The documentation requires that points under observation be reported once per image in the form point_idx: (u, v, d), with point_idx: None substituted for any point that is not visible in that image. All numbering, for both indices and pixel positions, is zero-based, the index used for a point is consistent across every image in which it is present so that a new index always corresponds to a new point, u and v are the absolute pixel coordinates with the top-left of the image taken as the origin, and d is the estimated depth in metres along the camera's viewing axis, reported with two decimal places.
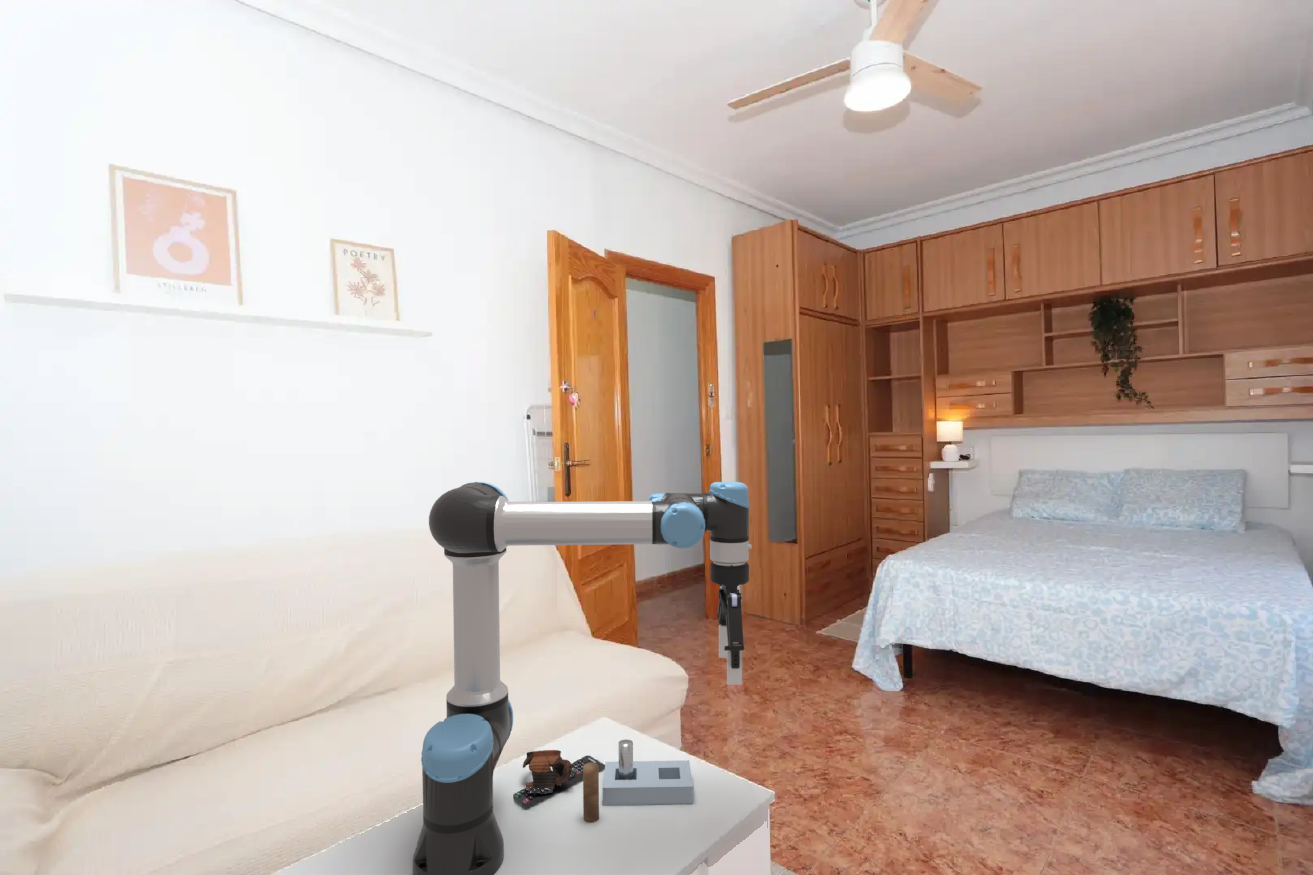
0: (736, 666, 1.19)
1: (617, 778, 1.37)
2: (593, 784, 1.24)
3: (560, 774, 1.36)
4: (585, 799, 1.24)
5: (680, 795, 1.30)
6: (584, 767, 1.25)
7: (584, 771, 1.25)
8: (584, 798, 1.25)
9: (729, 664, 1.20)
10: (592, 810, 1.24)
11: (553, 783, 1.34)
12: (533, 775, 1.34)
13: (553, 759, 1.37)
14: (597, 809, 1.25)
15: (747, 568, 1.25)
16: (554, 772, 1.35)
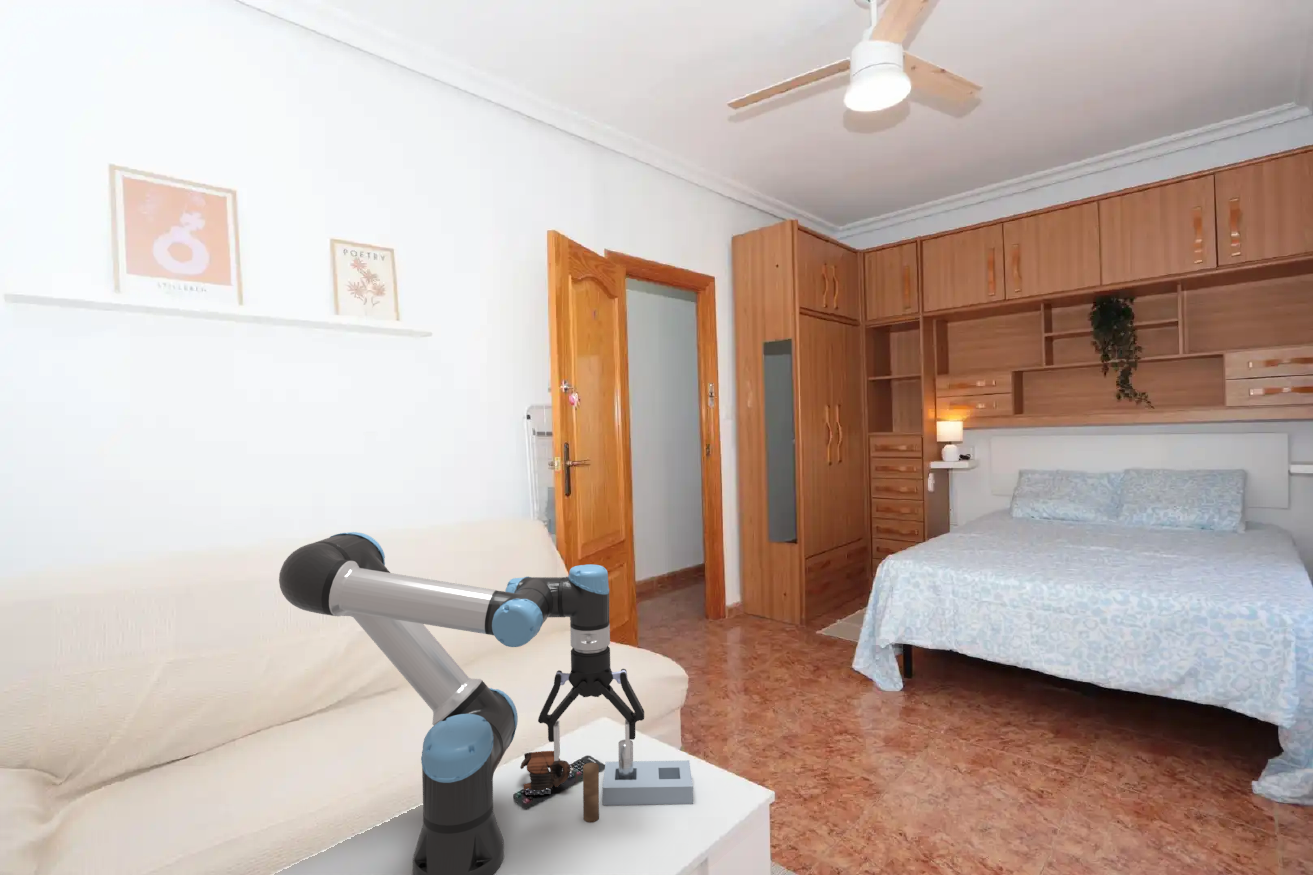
0: None
1: (617, 778, 1.37)
2: (593, 784, 1.24)
3: (558, 775, 1.35)
4: (585, 799, 1.24)
5: (680, 795, 1.30)
6: (584, 767, 1.25)
7: (584, 771, 1.25)
8: (584, 798, 1.25)
9: None
10: (592, 810, 1.24)
11: (551, 784, 1.34)
12: (531, 776, 1.34)
13: (551, 760, 1.36)
14: (597, 809, 1.25)
15: (578, 657, 1.22)
16: (552, 773, 1.35)
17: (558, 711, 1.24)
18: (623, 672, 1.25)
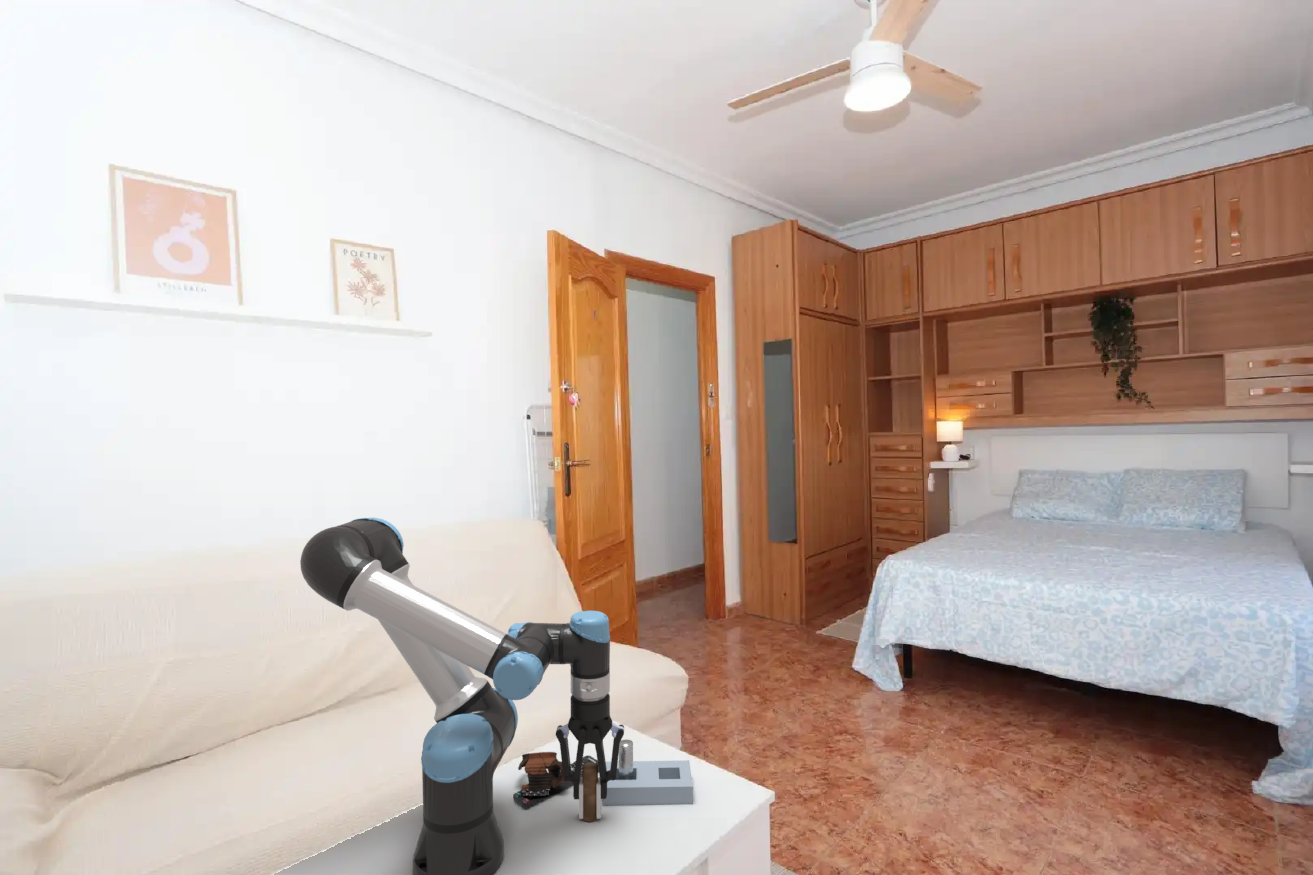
0: None
1: (617, 778, 1.37)
2: (592, 784, 1.24)
3: (556, 776, 1.35)
4: (584, 799, 1.24)
5: (680, 795, 1.30)
6: (583, 767, 1.25)
7: (583, 771, 1.25)
8: (583, 798, 1.25)
9: None
10: (591, 810, 1.24)
11: (549, 785, 1.33)
12: (529, 777, 1.33)
13: (549, 761, 1.36)
14: (595, 809, 1.25)
15: (578, 705, 1.22)
16: (550, 774, 1.34)
17: (576, 767, 1.24)
18: (622, 729, 1.25)
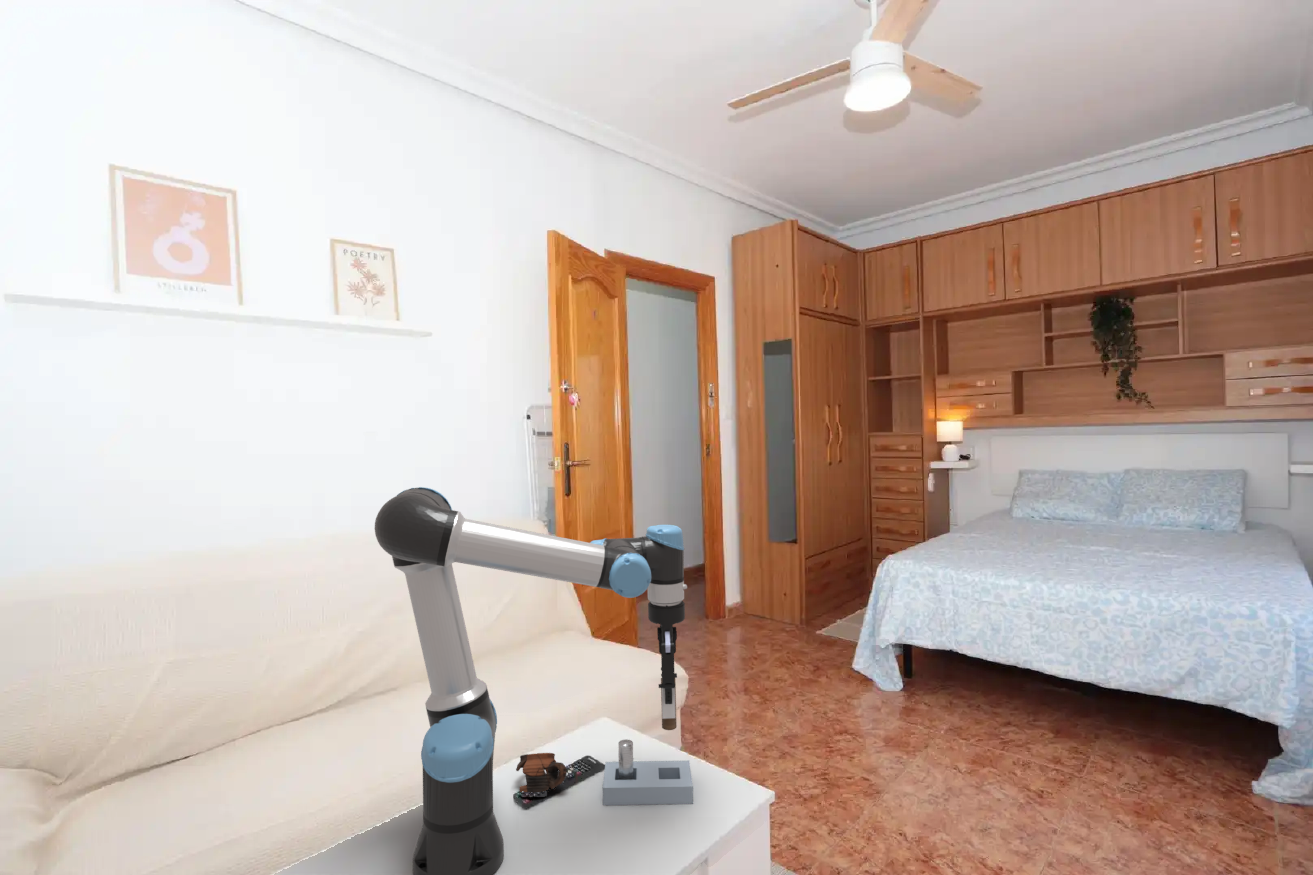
0: (669, 702, 1.31)
1: (617, 778, 1.37)
2: None
3: (554, 777, 1.35)
4: None
5: (680, 795, 1.30)
6: None
7: None
8: None
9: (663, 700, 1.32)
10: None
11: (547, 786, 1.33)
12: (527, 778, 1.33)
13: (547, 762, 1.35)
14: None
15: (682, 607, 1.32)
16: (548, 775, 1.34)
17: None
18: None
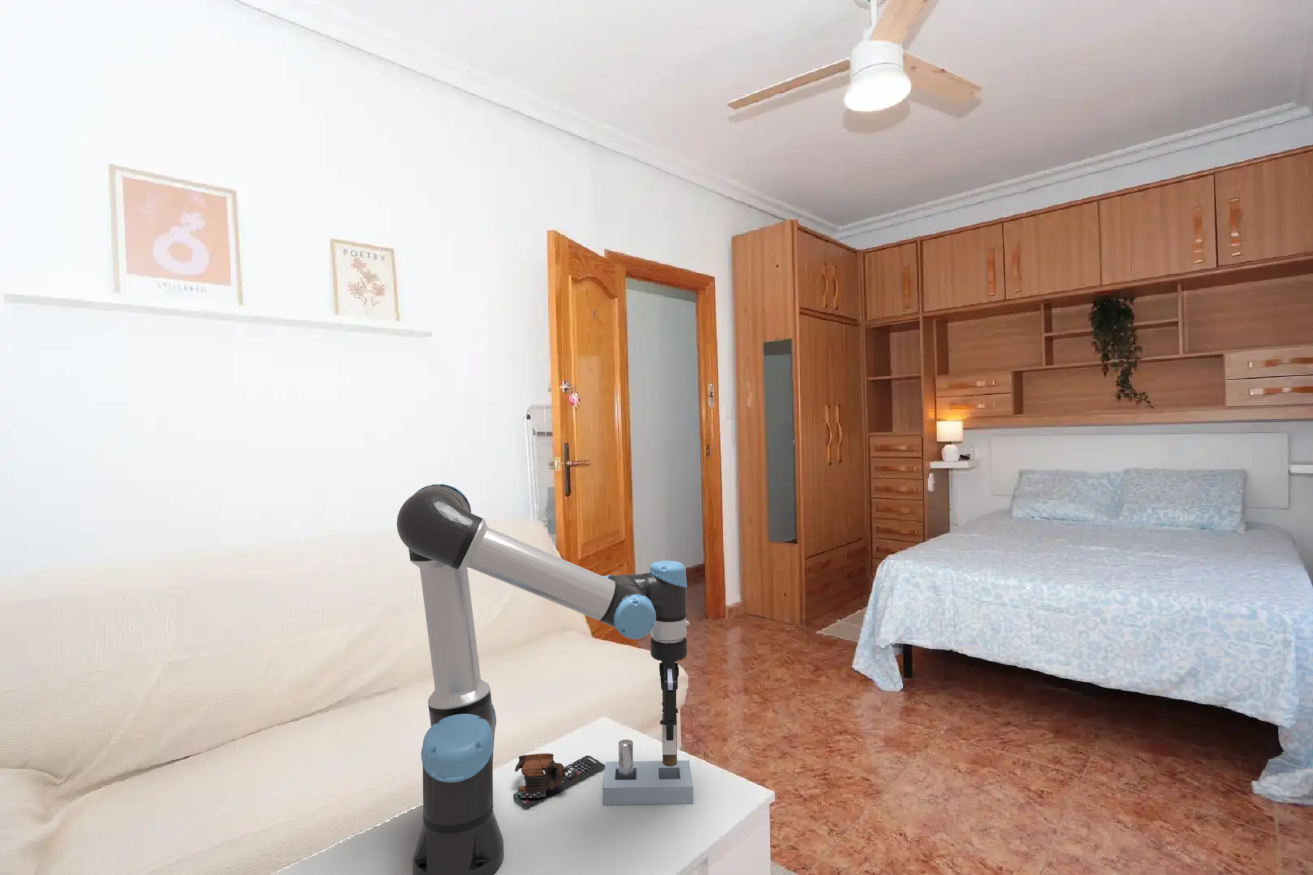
0: (670, 738, 1.32)
1: (617, 778, 1.37)
2: None
3: (553, 778, 1.34)
4: None
5: (680, 795, 1.30)
6: None
7: None
8: None
9: (664, 736, 1.33)
10: None
11: (546, 787, 1.33)
12: (526, 779, 1.32)
13: (546, 763, 1.35)
14: None
15: (684, 644, 1.32)
16: (547, 776, 1.34)
17: None
18: None
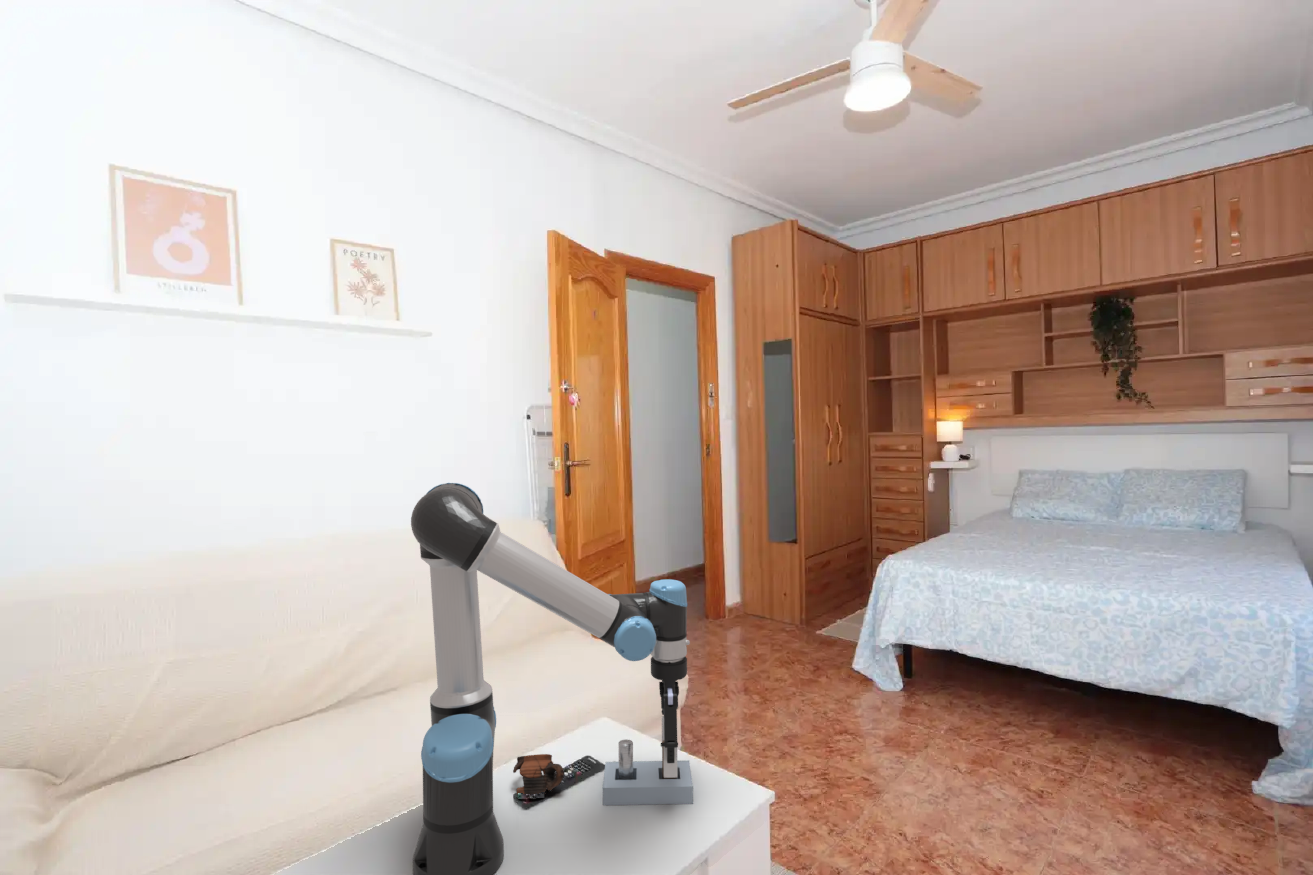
0: (671, 761, 1.27)
1: (617, 778, 1.37)
2: None
3: (551, 778, 1.34)
4: None
5: (680, 795, 1.30)
6: None
7: None
8: None
9: (665, 758, 1.28)
10: None
11: (544, 788, 1.32)
12: (524, 780, 1.32)
13: (544, 763, 1.35)
14: None
15: (684, 663, 1.33)
16: (545, 777, 1.33)
17: None
18: None
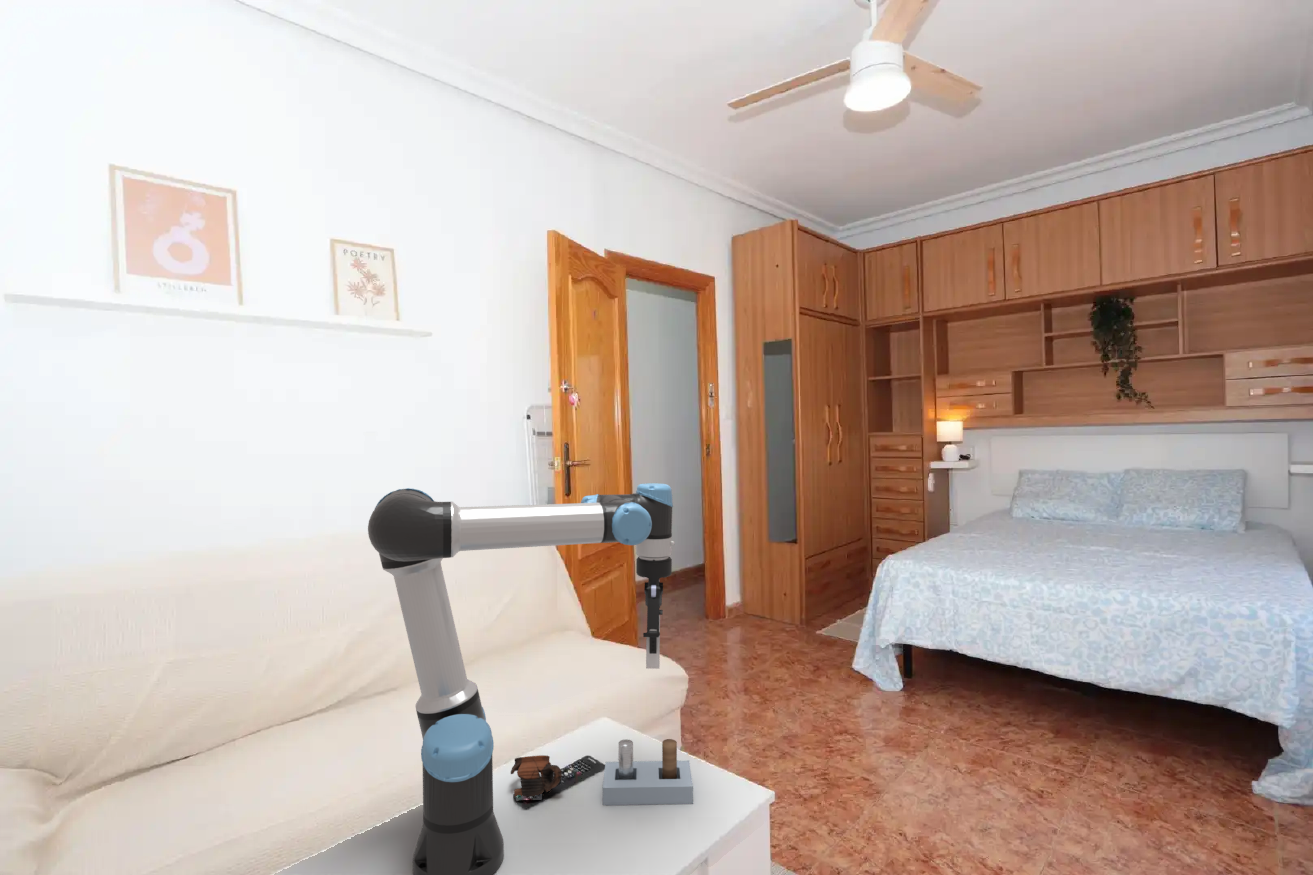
0: (653, 651, 1.30)
1: (617, 778, 1.37)
2: None
3: (549, 780, 1.34)
4: (675, 772, 1.34)
5: (680, 795, 1.30)
6: (671, 745, 1.34)
7: (674, 747, 1.34)
8: (674, 772, 1.34)
9: (648, 649, 1.31)
10: None
11: (542, 789, 1.32)
12: (522, 781, 1.32)
13: (542, 765, 1.34)
14: None
15: (669, 563, 1.36)
16: (543, 778, 1.33)
17: None
18: None
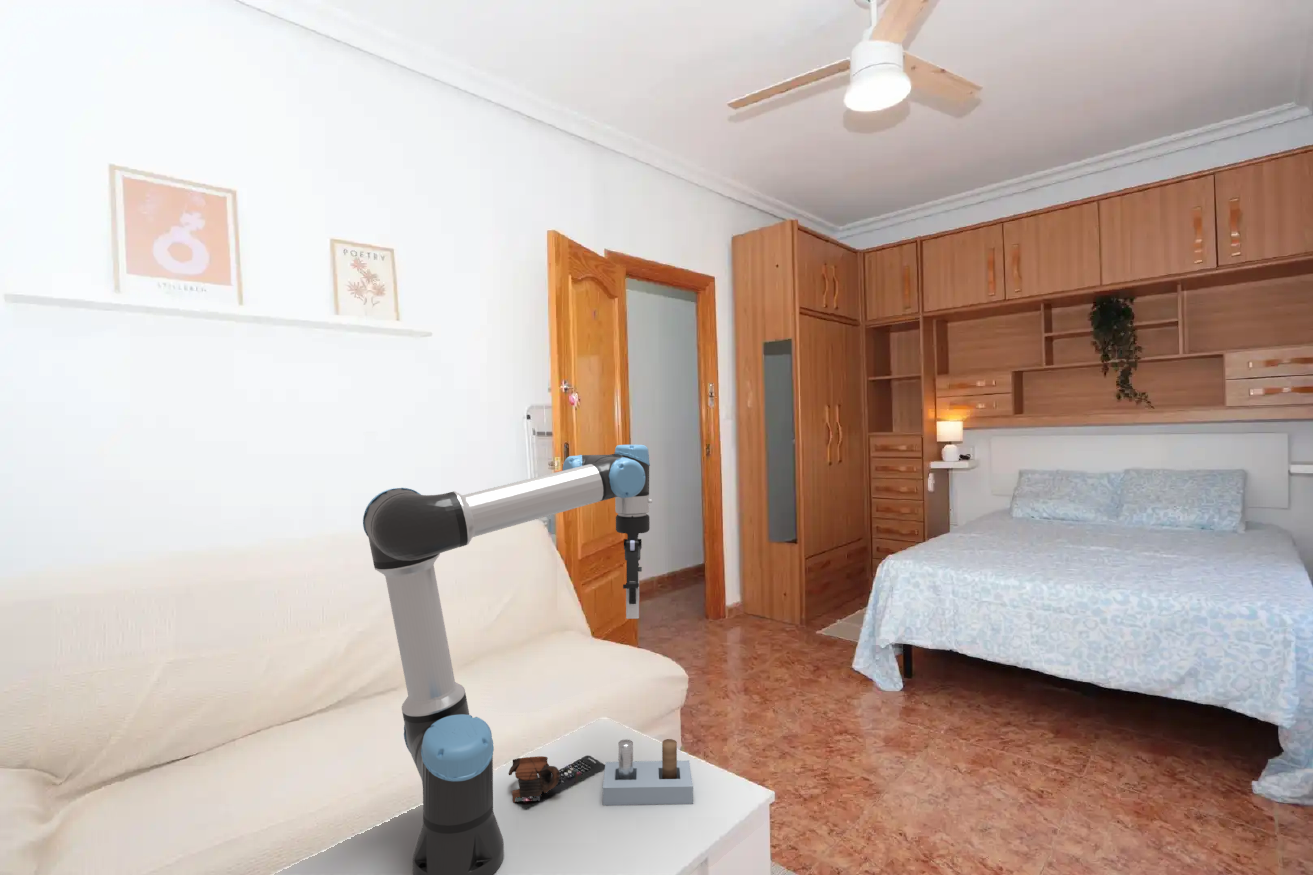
0: (632, 601, 1.37)
1: (617, 778, 1.37)
2: None
3: (547, 781, 1.33)
4: (675, 772, 1.34)
5: (680, 795, 1.30)
6: (671, 745, 1.34)
7: (674, 747, 1.34)
8: (674, 772, 1.34)
9: (627, 601, 1.38)
10: None
11: (540, 790, 1.32)
12: (520, 782, 1.31)
13: (540, 766, 1.34)
14: None
15: (646, 519, 1.43)
16: (541, 779, 1.32)
17: None
18: None
